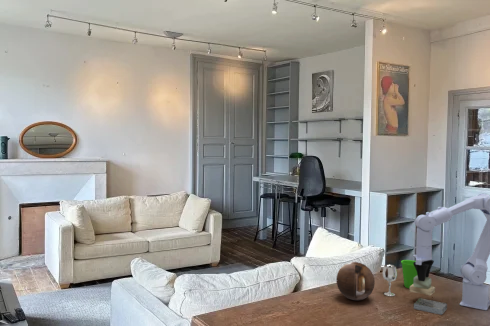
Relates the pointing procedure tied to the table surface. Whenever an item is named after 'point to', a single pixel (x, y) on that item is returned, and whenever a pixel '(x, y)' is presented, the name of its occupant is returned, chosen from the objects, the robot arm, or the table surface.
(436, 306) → the dock
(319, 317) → the table surface
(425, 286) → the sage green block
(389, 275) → the wineglass
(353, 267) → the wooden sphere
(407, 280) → the cup
